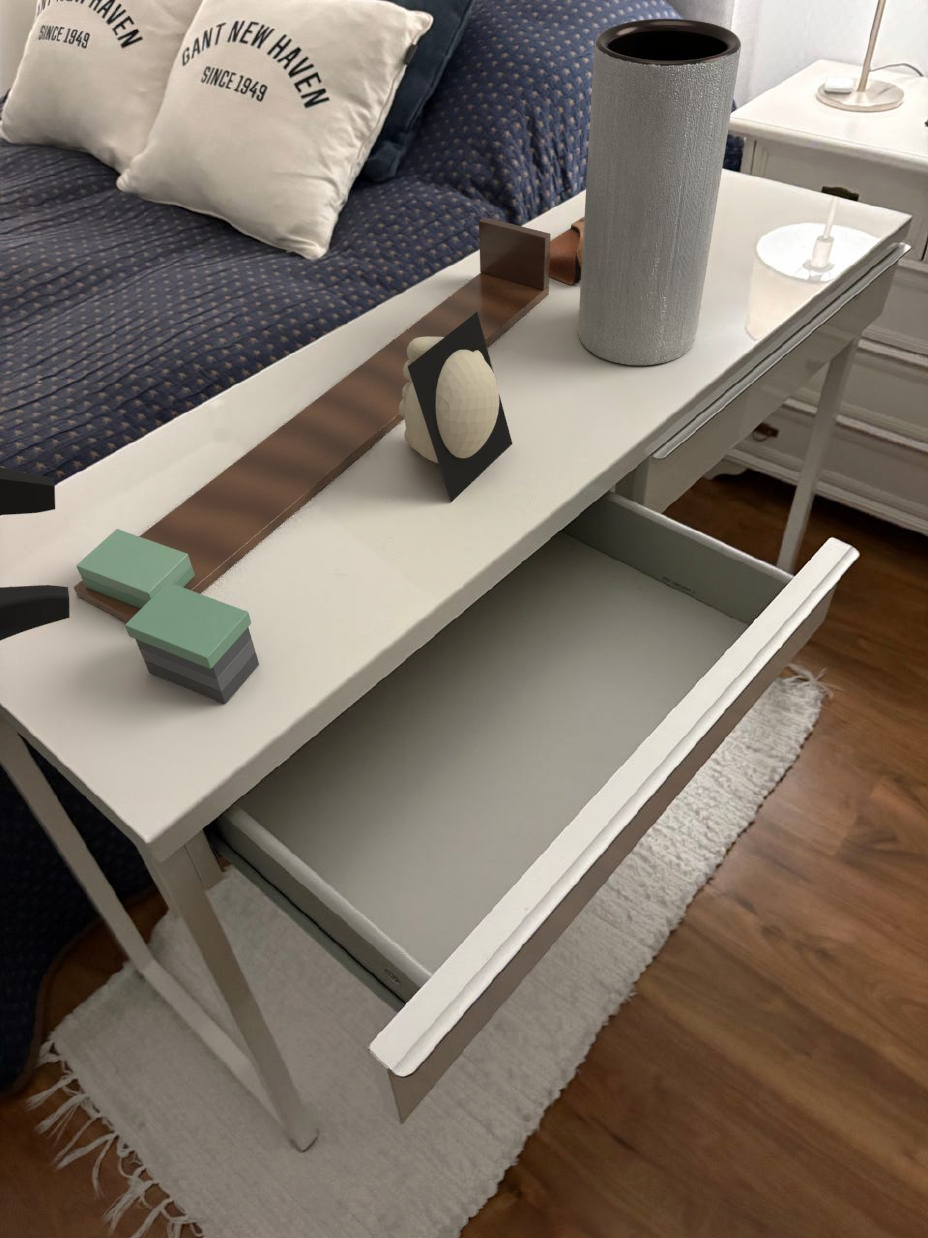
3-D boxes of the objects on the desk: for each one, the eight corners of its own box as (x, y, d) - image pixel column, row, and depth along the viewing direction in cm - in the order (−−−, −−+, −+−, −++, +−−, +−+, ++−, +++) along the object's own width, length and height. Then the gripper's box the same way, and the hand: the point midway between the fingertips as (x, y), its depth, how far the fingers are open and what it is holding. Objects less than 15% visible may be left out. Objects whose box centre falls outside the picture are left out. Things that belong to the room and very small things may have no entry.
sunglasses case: (605, 208, 121) (632, 167, 116) (643, 248, 121) (673, 209, 116) (520, 264, 112) (545, 223, 106) (562, 307, 112) (590, 268, 106)
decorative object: (387, 493, 88) (449, 438, 94) (477, 505, 82) (537, 445, 87) (340, 364, 81) (410, 312, 86) (434, 367, 74) (504, 310, 80)
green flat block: (156, 615, 74) (148, 593, 72) (85, 587, 76) (75, 565, 75) (195, 575, 77) (188, 553, 75) (125, 550, 79) (116, 528, 78)
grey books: (225, 704, 69) (212, 666, 66) (148, 672, 71) (132, 634, 68) (259, 664, 71) (248, 625, 68) (184, 634, 74) (170, 596, 71)
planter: (718, 331, 101) (769, 33, 81) (651, 381, 95) (689, 72, 75) (622, 295, 107) (649, 9, 87) (554, 340, 101) (565, 44, 81)
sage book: (211, 669, 66) (207, 658, 65) (129, 636, 68) (124, 625, 67) (252, 623, 69) (248, 611, 68) (172, 593, 71) (167, 581, 70)
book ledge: (151, 636, 74) (124, 570, 69) (76, 596, 77) (46, 529, 72) (548, 294, 108) (550, 233, 103) (485, 276, 111) (484, 216, 106)
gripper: (-267, 639, 41) (75, 613, 47) (-250, 396, 48) (47, 399, 54) (-227, 719, 46) (75, 686, 52) (-216, 490, 53) (50, 483, 59)
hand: (61, 546), depth 53 cm, fingers open, 7 cm apart
